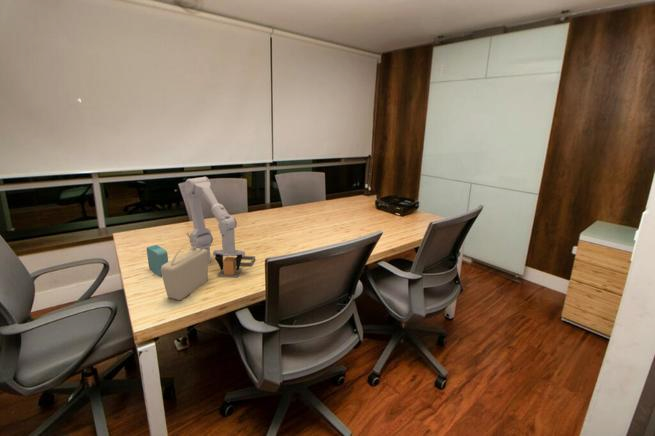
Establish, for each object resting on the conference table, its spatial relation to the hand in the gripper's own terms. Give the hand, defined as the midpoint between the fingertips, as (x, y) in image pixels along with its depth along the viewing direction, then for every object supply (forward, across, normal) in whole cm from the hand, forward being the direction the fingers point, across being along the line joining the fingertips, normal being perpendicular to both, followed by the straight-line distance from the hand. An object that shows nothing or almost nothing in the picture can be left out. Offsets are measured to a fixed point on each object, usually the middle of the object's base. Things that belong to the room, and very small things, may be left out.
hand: (230, 269), depth 154 cm
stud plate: (+2, 0, 0) cm, 2 cm away
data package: (+3, -34, 0) cm, 34 cm away
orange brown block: (+2, 0, 0) cm, 2 cm away
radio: (+3, -14, -16) cm, 21 cm away
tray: (+2, +4, +12) cm, 13 cm away
